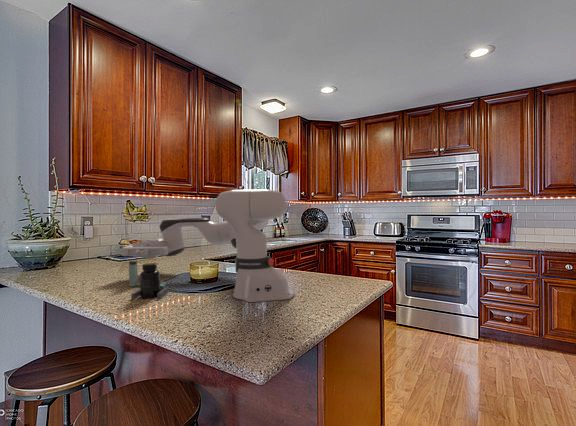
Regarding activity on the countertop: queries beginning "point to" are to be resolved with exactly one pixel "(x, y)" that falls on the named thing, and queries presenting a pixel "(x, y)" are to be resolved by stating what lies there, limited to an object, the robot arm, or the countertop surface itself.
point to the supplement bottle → (149, 281)
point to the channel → (159, 294)
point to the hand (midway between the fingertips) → (138, 253)
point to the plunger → (134, 277)
